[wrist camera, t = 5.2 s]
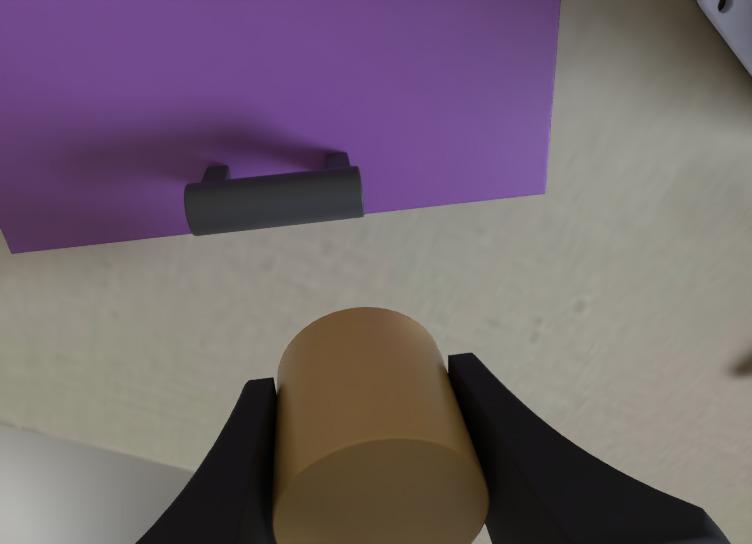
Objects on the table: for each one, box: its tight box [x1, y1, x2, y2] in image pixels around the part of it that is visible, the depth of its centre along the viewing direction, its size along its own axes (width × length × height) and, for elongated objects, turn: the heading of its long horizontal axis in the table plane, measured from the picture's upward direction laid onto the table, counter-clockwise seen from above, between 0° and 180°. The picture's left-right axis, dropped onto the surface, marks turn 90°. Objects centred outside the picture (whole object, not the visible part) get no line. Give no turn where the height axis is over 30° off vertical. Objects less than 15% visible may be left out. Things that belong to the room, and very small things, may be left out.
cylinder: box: [271, 307, 490, 544], centre depth 14 cm, size 4×4×4 cm
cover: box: [0, 0, 561, 254], centre depth 15 cm, size 10×17×4 cm, turn 94°
